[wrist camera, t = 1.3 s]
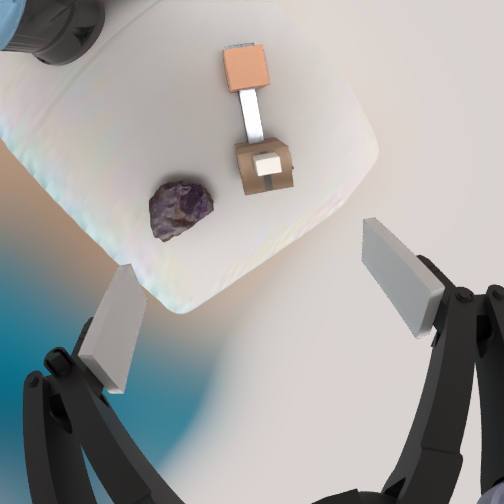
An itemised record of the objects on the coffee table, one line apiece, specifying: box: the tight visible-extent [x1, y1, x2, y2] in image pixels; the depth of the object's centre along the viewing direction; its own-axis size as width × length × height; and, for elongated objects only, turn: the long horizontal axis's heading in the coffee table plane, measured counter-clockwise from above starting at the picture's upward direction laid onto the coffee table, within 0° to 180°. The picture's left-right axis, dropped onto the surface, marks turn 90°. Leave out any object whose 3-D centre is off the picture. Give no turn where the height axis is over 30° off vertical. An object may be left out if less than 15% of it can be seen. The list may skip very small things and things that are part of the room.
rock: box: [149, 181, 214, 242], centre depth 45 cm, size 12×9×10 cm
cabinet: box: [235, 138, 294, 195], centre depth 42 cm, size 6×8×10 cm
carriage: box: [223, 45, 270, 93], centre depth 35 cm, size 6×5×9 cm
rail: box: [224, 43, 264, 144], centre depth 39 cm, size 18×4×4 cm, turn 10°
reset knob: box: [253, 152, 282, 176], centre depth 35 cm, size 2×3×4 cm, turn 100°
